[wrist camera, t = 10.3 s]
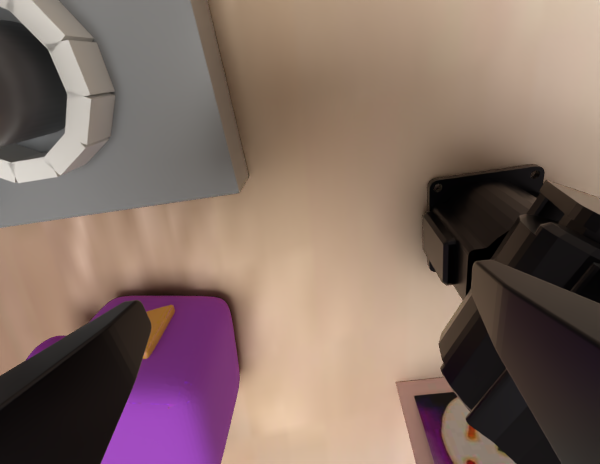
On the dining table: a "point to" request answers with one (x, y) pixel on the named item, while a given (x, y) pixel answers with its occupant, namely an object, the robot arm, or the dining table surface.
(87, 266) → the dining table surface
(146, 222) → the dining table surface
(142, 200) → the mount
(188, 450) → the toy camera
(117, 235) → the dining table surface
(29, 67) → the lens
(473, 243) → the robot arm
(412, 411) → the purple printed box
